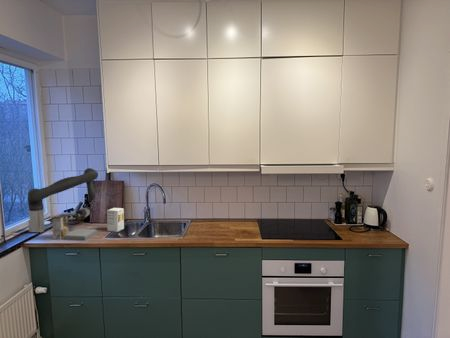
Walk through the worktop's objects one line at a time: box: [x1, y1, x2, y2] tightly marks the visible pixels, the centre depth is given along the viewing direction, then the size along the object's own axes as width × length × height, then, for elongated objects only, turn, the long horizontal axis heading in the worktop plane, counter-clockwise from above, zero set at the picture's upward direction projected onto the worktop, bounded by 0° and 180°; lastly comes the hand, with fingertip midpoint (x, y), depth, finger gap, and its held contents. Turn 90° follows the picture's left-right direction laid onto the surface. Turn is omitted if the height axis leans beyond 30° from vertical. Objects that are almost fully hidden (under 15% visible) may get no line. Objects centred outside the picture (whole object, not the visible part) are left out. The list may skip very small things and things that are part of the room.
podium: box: [63, 228, 98, 241], centre depth 210 cm, size 16×16×3 cm
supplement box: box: [106, 207, 125, 233], centre depth 225 cm, size 10×9×17 cm
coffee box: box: [51, 213, 70, 240], centre depth 206 cm, size 9×6×16 cm
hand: (70, 219), depth 217 cm, fingers open, 8 cm apart
